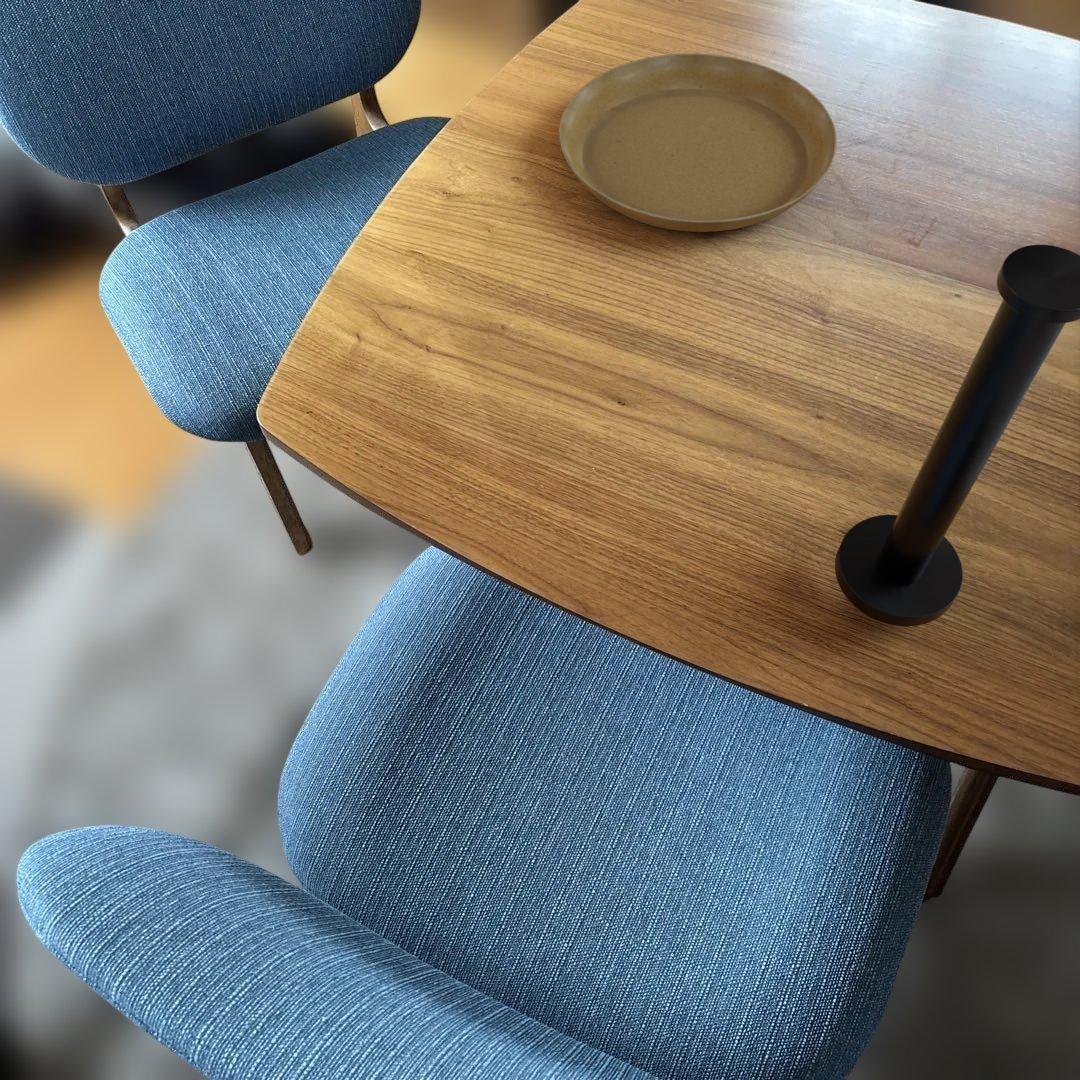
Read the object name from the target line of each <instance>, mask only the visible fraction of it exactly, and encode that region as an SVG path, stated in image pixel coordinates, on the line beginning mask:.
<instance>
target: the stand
mask: <svg viewBox="0 0 1080 1080" xmlns="http://www.w3.org/2000/svg"><path fill="white" fill-rule="evenodd" d="M996 287H997V291H998V294H999V295H1000V297H1001V298H1002V301H1001V303H1000V305H999V306H998V309H997V311H996V313H995V315H994V317H993V319H992V321H991V323H990V325H989V327H988V328H987V331H986V333H985V336H984V338H983V340H982V341H981V344H980V346H979V348H978V349H977V352H976V353H975V356H974V359H973V360H972V362H971V364H970V366H969V369H967V370H968V371H967V373H966V375H965V376H964V379H963V381H962V383H961V385H960V386H959V389H958V390H957V393H956V395H955V397H954V399H953V401H952V403H951V405H950V407H949V408H948V412H947V414H946V415H945V417H944V420H943V422H942V423H941V426H940V428H939V429H938V432H937V434H936V436H935V438H934V440H933V442H932V445H931V447H930V449H929V450H928V453H927V454H926V457H925V459H924V461H923V463H922V465H921V467H920V468H919V471H918V473H917V475H916V477H915V478H914V481H913V484H912V485H911V488H910V490H909V492H908V494H907V496H906V498H905V501H904V502H903V504H902V506H901V508H900V510H899V512H898V514H881V515H874V516H871V517H867V518H866V519H862V520H861V521H859V522H858V523H856V524H854V525H853V526H852V527H851V528H850V529H849V530H848V531H847V532H846V534H844V537H843V538H842V540H841V542H840V545H839V547H838V550H837V552H836V555H835V558H834V559H835V560H834V574H835V578H836V580H837V583H838V586H839V588H840V590H841V592H842V593H843V595H844V596H845V598H846V599H847V600H848V601H849V602H850V603H851V604H852V605H853V606H854V607H855V608H856V609H857V610H858V611H860V612H861V613H863V614H864V615H865V616H867V617H869V618H870V619H873V620H875V621H877V622H880V623H882V624H883V623H884V624H886V625H890V626H896V627H918V626H922V625H925V624H928V623H929V624H930V623H931V622H934V621H936V620H938V619H939V618H940V617H942V616H943V615H944V614H946V612H947V611H949V609H950V608H951V606H952V605H953V603H954V602H955V600H956V599H957V597H958V595H959V593H960V591H961V589H962V586H963V582H964V581H963V580H964V572H963V566H962V562H961V558H960V557H959V554H958V553H957V550H956V549H955V547H954V546H953V544H952V543H951V542H950V541H949V540H948V539H947V538H946V534H947V532H948V531H949V529H950V527H951V526H952V524H953V522H954V521H955V518H956V517H957V515H958V513H959V511H960V509H961V508H962V506H963V504H964V502H965V501H966V499H967V497H968V495H969V494H970V492H971V490H972V488H973V486H975V483H976V481H977V480H978V478H979V476H980V474H981V473H982V470H983V469H984V468H985V466H986V464H987V462H988V460H989V459H990V457H991V455H992V453H993V452H994V450H995V449H996V447H997V445H998V443H999V442H1000V440H1001V438H1002V436H1003V434H1004V432H1005V430H1006V429H1007V427H1008V426H1009V424H1010V422H1011V420H1012V419H1013V416H1014V415H1015V413H1016V411H1017V410H1018V408H1019V406H1020V404H1021V402H1022V401H1023V399H1024V397H1025V395H1026V394H1027V392H1028V390H1029V389H1030V387H1031V385H1032V384H1033V381H1034V380H1035V378H1036V376H1037V374H1038V373H1039V371H1040V370H1041V367H1042V366H1043V364H1044V362H1045V360H1046V359H1047V357H1048V355H1049V354H1050V351H1051V350H1052V348H1053V346H1054V345H1055V343H1056V341H1057V339H1058V338H1059V336H1060V334H1061V332H1062V331H1063V329H1064V327H1065V325H1066V324H1067V323H1072V322H1076V321H1078V320H1080V254H1078V253H1076V252H1075V251H1072V250H1070V249H1067V248H1065V247H1061V246H1056V245H1052V244H1051V245H1050V244H1029V245H1026V246H1022V247H1018V248H1017V249H1015V250H1013V251H1012V252H1011V253H1009V254H1008V255H1007V256H1006V257H1005V259H1004V261H1003V262H1002V265H1001V267H1000V269H999V271H998V273H997V276H996Z"/></svg>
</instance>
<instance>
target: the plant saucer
mask: <svg viewBox="0 0 1080 1080" xmlns="http://www.w3.org/2000/svg"><path fill="white" fill-rule="evenodd" d="M558 138H559V145H560V149H561V152H562V154H563V157H564V159H565V162H566V163H567V166H568V167H569V169H570V170H571V172H572V173H573V175H574V176H575V177H576V179H577V180H578V182H579V183H580V184H581V185H582V186H583V187H584V188H585V189H586V190H587V191H588V192H589V193H590V195H593V196H594V197H595V198H596V199H597V200H599V201H600V202H601V203H603V204H604V205H605V206H607V207H608V208H610V209H612V210H613V211H616V212H617V213H619V214H622V215H624V216H625V217H628V218H630V219H632V220H634V221H638V222H640V223H643V224H646V225H650V226H653V227H657V228H662V229H666V230H673V231H680V232H697V233H707V232H708V233H710V232H711V233H712V232H721V231H730V230H737V229H741V228H745V227H750V226H753V225H756V224H759V223H762V222H765V221H767V220H769V219H772V218H774V217H776V216H778V215H780V214H783V213H784V212H786V211H788V210H790V209H791V208H792V207H794V206H796V205H797V204H798V203H800V202H801V201H802V200H804V199H805V198H806V197H807V196H809V195H810V194H811V193H812V192H813V191H814V190H815V189H816V188H817V187H818V186H819V184H820V183H821V182H822V181H823V180H824V178H825V177H826V176H827V174H828V172H829V171H830V169H831V167H832V166H833V162H834V160H835V158H836V154H837V149H838V136H837V131H836V127H835V124H834V121H833V118H832V116H831V114H830V113H829V111H828V109H826V107H825V106H824V104H823V103H822V102H821V101H820V100H819V98H818V97H817V96H816V95H815V94H814V93H813V92H812V91H811V90H809V89H808V88H807V87H806V86H804V85H803V84H801V83H800V82H799V81H797V80H795V79H794V78H792V77H790V76H789V75H786V74H784V73H783V72H780V71H778V70H776V69H774V68H772V67H769V66H767V65H764V64H760V63H757V62H755V61H751V60H747V59H743V58H738V57H733V56H728V55H721V54H713V53H698V52H697V53H696V52H695V53H694V52H693V53H690V52H688V53H669V54H661V55H654V56H648V57H644V58H640V59H636V60H632V61H628V62H626V63H623V64H620V65H617V66H615V67H613V68H611V69H608V70H606V71H604V72H603V73H601V74H599V75H598V76H595V77H594V78H592V79H591V80H590V81H589V82H587V83H586V84H585V85H584V86H582V87H581V88H580V89H579V90H578V91H577V92H576V93H575V94H574V95H573V96H572V98H571V99H570V101H568V104H567V105H566V107H565V109H564V111H563V112H562V115H561V118H560V122H559V130H558Z"/></svg>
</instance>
